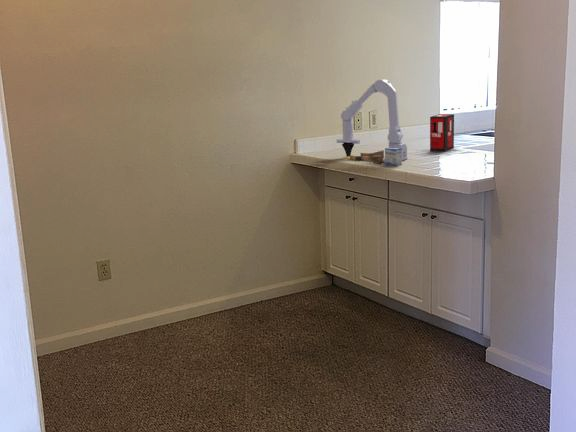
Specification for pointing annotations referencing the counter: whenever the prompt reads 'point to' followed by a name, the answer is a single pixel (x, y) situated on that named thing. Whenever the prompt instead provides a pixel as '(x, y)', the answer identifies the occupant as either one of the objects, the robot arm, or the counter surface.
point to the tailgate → (348, 157)
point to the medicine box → (393, 156)
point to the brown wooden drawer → (367, 156)
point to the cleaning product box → (442, 132)
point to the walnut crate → (378, 159)
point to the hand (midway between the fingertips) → (348, 156)
